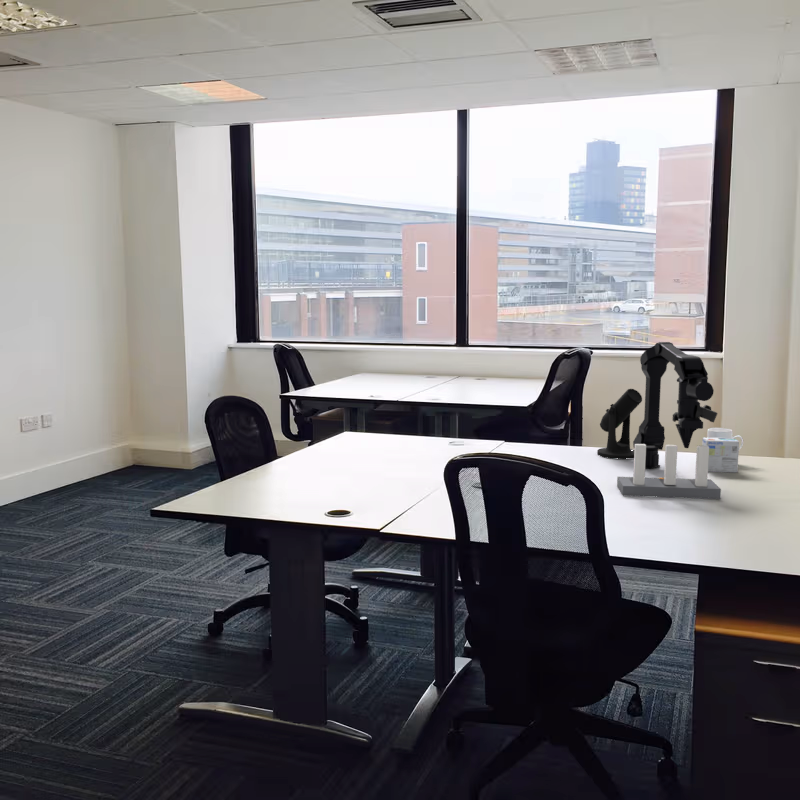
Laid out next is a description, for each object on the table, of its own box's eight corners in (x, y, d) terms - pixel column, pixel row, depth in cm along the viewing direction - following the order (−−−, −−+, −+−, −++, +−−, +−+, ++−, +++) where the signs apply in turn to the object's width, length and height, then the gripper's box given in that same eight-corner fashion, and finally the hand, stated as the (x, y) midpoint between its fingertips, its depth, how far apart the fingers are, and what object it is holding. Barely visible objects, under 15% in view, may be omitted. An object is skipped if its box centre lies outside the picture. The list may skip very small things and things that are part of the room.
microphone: (622, 461, 296) (625, 391, 292) (586, 453, 310) (589, 386, 307) (650, 457, 304) (654, 388, 300) (615, 449, 318) (617, 383, 315)
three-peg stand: (617, 485, 261) (619, 438, 259) (710, 488, 258) (713, 440, 255) (622, 495, 249) (624, 446, 247) (720, 499, 246) (723, 448, 244)
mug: (703, 462, 296) (705, 430, 294) (708, 457, 303) (710, 426, 301) (740, 466, 290) (742, 433, 288) (743, 461, 297) (745, 429, 295)
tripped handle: (663, 483, 251) (665, 444, 249) (674, 483, 251) (676, 444, 249) (665, 484, 249) (667, 445, 247) (675, 484, 249) (677, 446, 247)
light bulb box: (732, 468, 286) (734, 437, 285) (738, 472, 280) (740, 441, 278) (700, 467, 287) (701, 436, 286) (705, 472, 281) (707, 440, 279)
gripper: (722, 401, 247) (720, 453, 248) (709, 395, 265) (707, 444, 267) (682, 400, 249) (680, 452, 250) (673, 394, 267) (671, 443, 269)
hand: (686, 448), depth 259 cm, fingers closed
